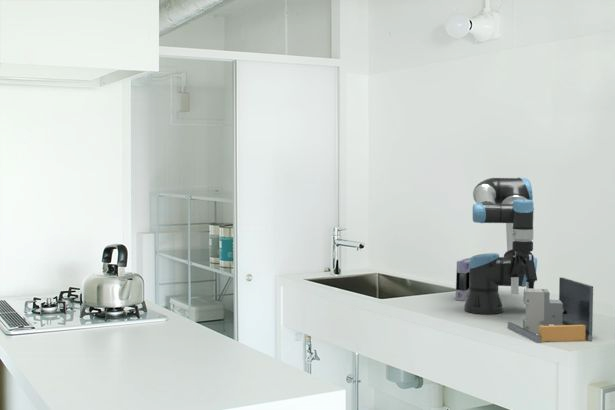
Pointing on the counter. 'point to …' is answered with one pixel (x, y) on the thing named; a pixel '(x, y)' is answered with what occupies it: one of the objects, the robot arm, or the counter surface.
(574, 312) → the dark grey piece
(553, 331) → the orange rectangular bar
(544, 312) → the circuit breaker
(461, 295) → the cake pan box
